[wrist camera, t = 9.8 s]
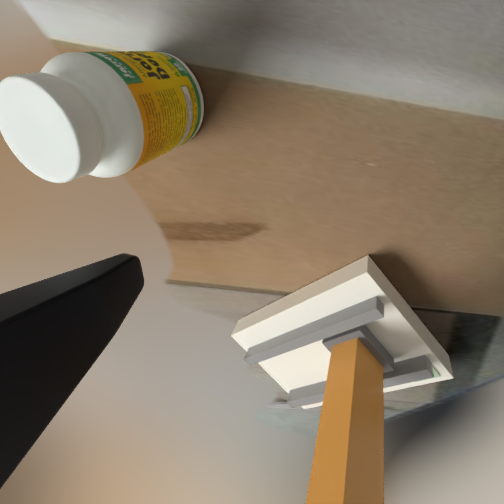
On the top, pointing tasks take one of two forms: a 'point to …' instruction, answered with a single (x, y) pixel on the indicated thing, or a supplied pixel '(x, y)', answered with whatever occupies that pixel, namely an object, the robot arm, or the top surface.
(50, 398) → the robot arm
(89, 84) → the supplement bottle
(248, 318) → the plate
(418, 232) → the top surface
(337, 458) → the handle
